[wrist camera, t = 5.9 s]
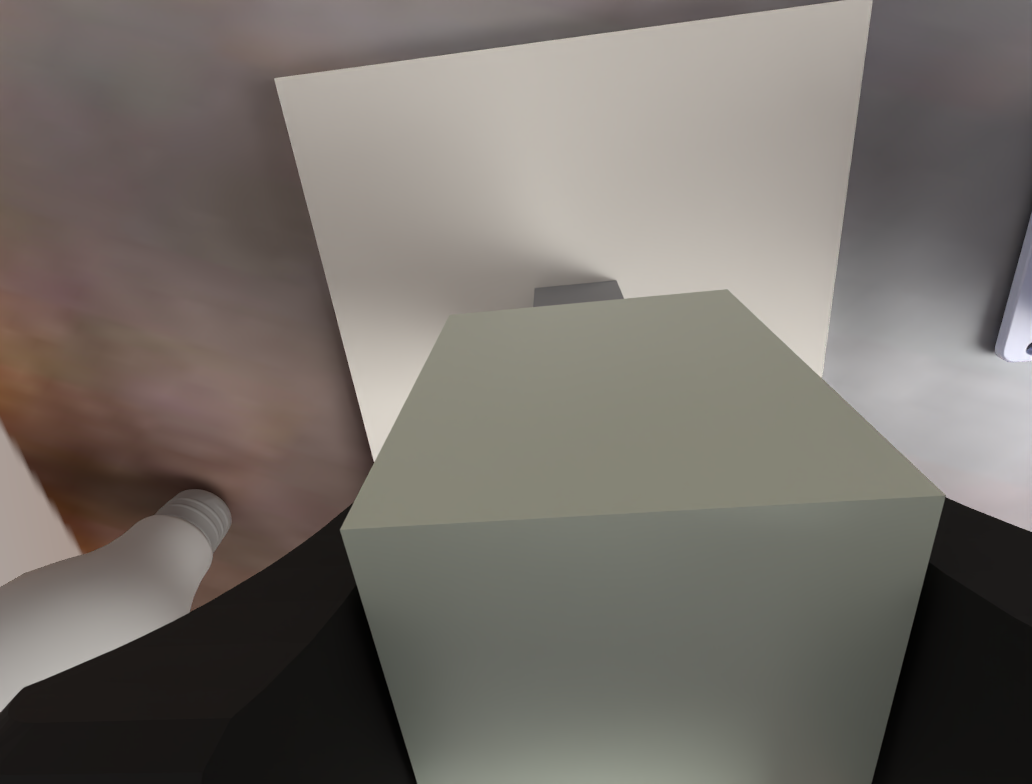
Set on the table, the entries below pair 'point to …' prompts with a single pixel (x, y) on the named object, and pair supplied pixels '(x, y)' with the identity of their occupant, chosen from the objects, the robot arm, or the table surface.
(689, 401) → the pale green block
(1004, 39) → the table surface
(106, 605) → the lightbulb
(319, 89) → the post board
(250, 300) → the table surface
